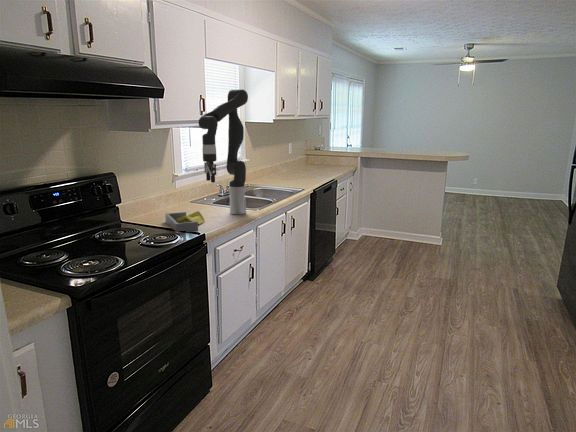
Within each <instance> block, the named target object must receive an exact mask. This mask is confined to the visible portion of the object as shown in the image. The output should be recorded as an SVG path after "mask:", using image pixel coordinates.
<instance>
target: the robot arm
mask: <svg viewBox="0 0 576 432" xmlns="http://www.w3.org/2000/svg"><path fill="white" fill-rule="evenodd" d="M248 100H249V95H248V92H247V91H246V90H245V89H242V88H241V89H236V88H235V89H230V90H229V91H228V94H227V101H226V102H223V103H221V104H219V105H218V106H216V107H215V108H213V110H212V111H209V112H206V113H205V114H203V115H202V116H200V117H199V119H198V127H199V128H201V129H202V130H207V132H206V133H204V134H203V135H202V137H201V140H202V148H201V149H202V161H203V162H204V173H205V176H206V181H210V182H211V183H216V176H217V165H216V163H214V162H217V147H216V146H217V145H216V136H217V130H218V123H219V122H220V121H222V120H224V118H225V117H226V116H227V117H228V132H227V133H228V138H227V139H228V141H227V143H228V145H227V146H228V147H227V157H226V158H227V159H226V170H227V171H226V172H227V173H228V174H230V175H231V176H233V179H232V180H230V181H229V214H232V215H243V214H247V199H246V197H245V195H246V194H245V183H246V178H247V177H246V176H247V175H246V174H247V173H246V172H247V166H246V163H245V162H244V161H243V160H238V153H239V150H240V148H241V146H242V144H243V141H244V134H245V133H244V132H245V131H244V129H245V128H244V125H243V123H242V121H241V119H240V117H239V114H238V109H239V108H240V107H242V106H244V105H246V104H247V102H248Z"/></svg>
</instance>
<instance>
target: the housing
mask: <svg viewBox="0 0 576 432" xmlns="http://www.w3.org/2000/svg"><path fill="white" fill-rule="evenodd" d="M164 215H165V223H166V224H167V226H169V228H170V229H171V230H172V229H173V230H175V231H176V232H179V231H186V232H185V233H192V232H198V231H199V224H198V222H197V221H196V222H189V221H188V222H186V223H179V222H178V223H177V222H176V221H175V220H176V219H178V218H180V217H182V216H187V212H186V211H183V212H181V211H180V212H170V213H167V212H166V213H165V214H164ZM173 230H172V231H173Z"/></svg>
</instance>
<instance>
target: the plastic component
mask: <svg viewBox="0 0 576 432" xmlns="http://www.w3.org/2000/svg"><path fill="white" fill-rule="evenodd" d="M175 221H176V222H177V223H186V222H196V221H197V222H198V225H201V224H203V223H205V222H206V221H205V218H204V216H203V214H202V213H201V211H199V210H198V211H195V212H192V213H191V214H188V215H186V216H182V217H180V218H178V219H176V220H175Z"/></svg>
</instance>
